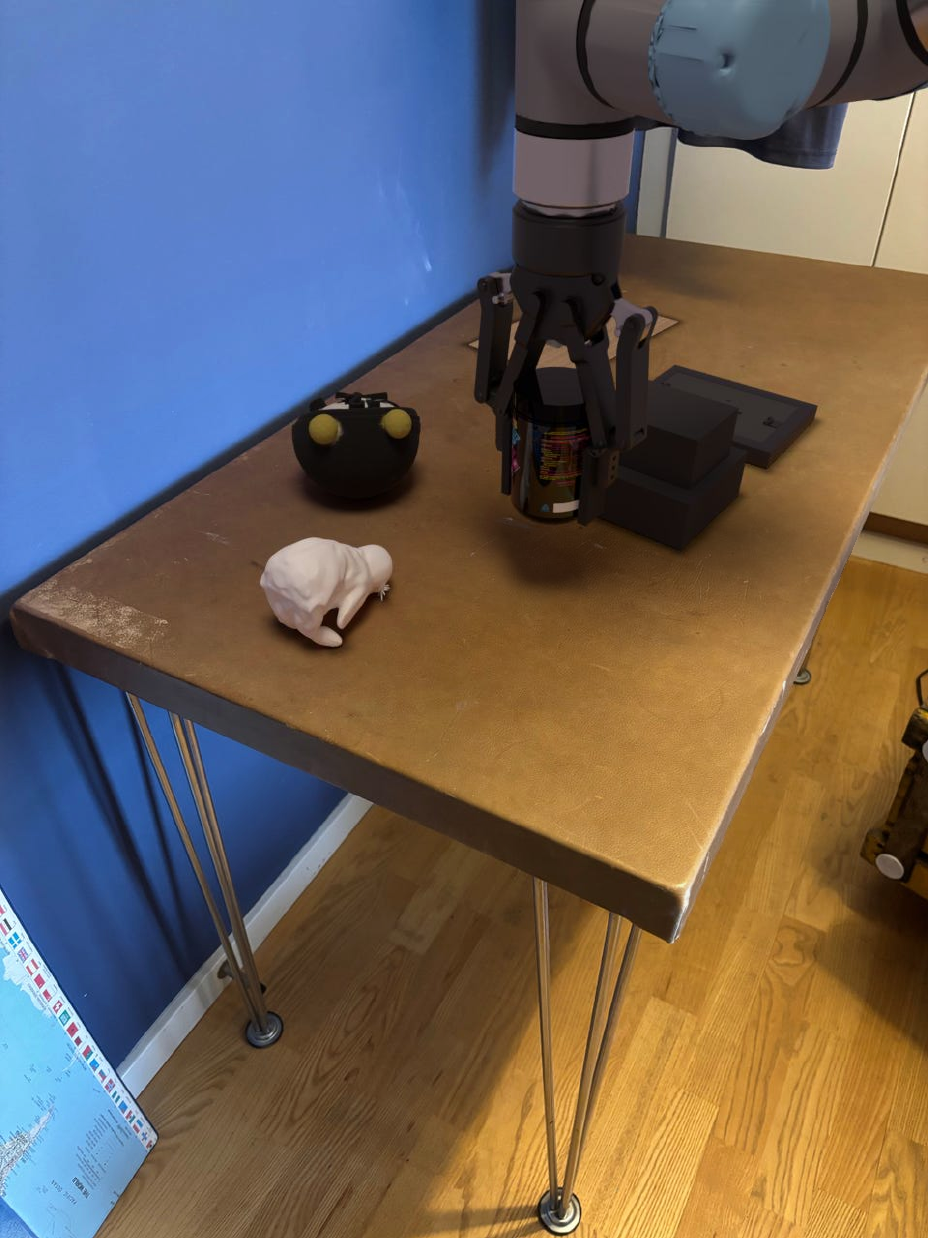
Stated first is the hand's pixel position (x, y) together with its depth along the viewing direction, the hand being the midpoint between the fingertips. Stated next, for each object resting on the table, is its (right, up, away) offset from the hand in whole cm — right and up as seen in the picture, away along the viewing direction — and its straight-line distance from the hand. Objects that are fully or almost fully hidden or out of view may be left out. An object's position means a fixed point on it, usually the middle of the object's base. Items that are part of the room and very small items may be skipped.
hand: (551, 501), depth 74 cm
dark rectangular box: (+12, +2, +16) cm, 20 cm away
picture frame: (+21, +13, +29) cm, 38 cm away
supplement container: (0, 0, 0) cm, 1 cm away
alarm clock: (-18, +4, +19) cm, 26 cm away
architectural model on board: (+8, +29, +48) cm, 57 cm away
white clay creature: (-17, -9, +3) cm, 20 cm away
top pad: (+12, +6, +13) cm, 19 cm away
